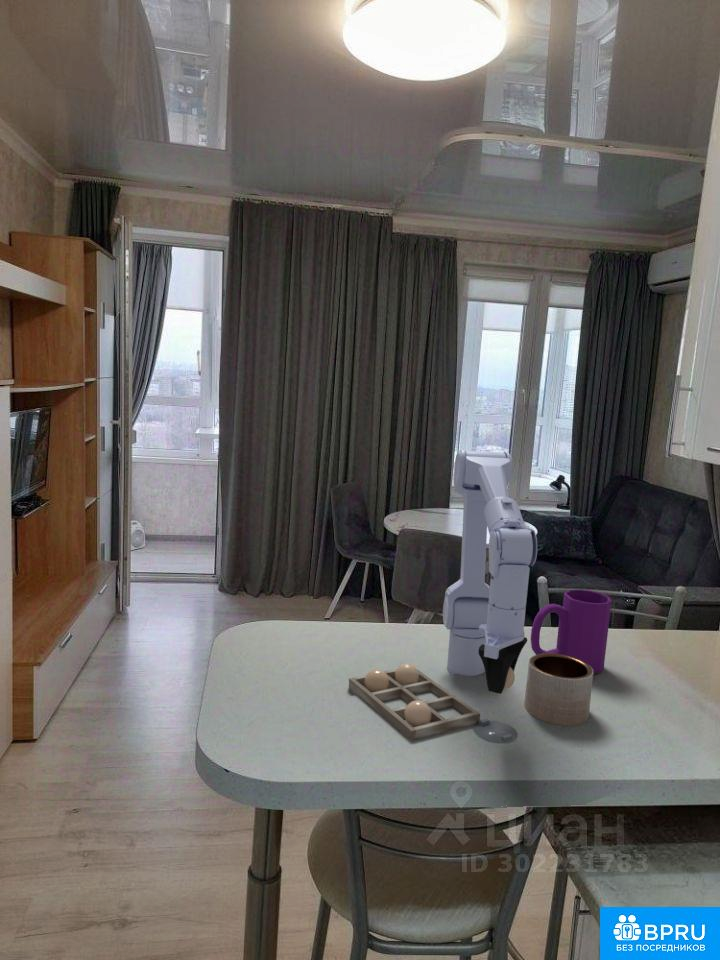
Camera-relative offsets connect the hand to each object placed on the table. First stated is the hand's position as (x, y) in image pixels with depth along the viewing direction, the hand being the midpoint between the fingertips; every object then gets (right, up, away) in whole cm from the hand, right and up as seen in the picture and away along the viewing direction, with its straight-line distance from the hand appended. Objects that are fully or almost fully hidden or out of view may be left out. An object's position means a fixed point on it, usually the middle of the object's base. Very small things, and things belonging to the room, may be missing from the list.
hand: (499, 685), depth 111 cm
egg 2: (-14, -5, +16) cm, 22 cm away
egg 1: (-19, -5, +13) cm, 24 cm away
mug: (+20, -6, +32) cm, 38 cm away
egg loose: (0, -1, 0) cm, 1 cm away
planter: (+12, -9, +10) cm, 18 cm away
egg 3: (-13, -7, +2) cm, 15 cm away
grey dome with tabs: (-1, -9, +1) cm, 9 cm away
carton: (-13, -7, +9) cm, 18 cm away
